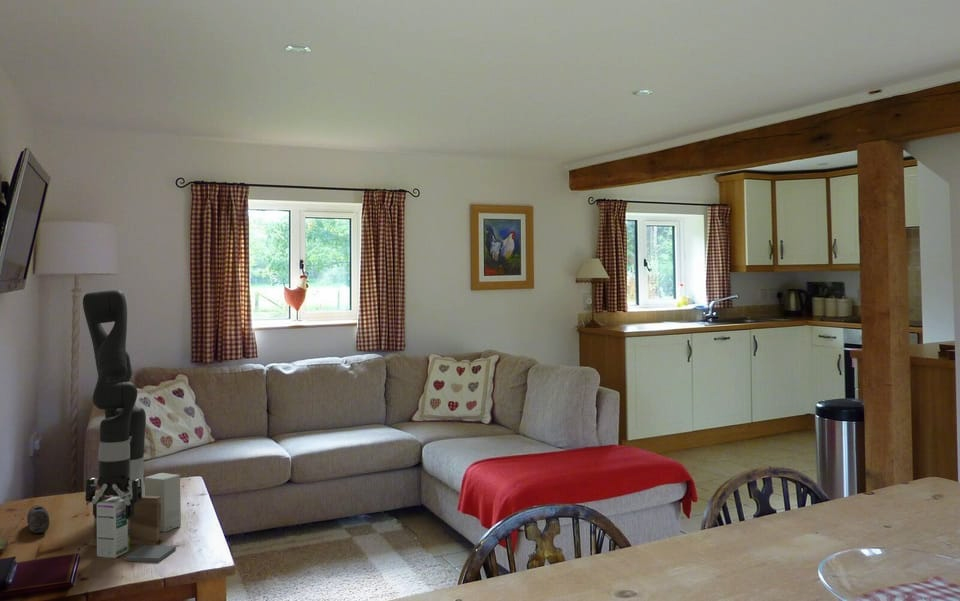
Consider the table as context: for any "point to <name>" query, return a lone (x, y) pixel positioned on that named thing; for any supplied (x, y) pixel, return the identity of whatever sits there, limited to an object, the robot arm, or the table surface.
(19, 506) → the table surface
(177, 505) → the skincare box
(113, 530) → the syrup box
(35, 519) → the perforated stone tool
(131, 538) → the brown wooden standing panel
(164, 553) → the mat
